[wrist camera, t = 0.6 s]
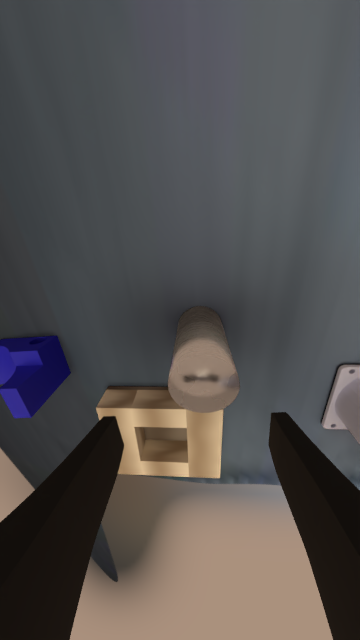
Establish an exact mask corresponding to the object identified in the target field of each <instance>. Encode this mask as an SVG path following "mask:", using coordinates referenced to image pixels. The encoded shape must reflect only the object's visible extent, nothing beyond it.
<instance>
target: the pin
mask: <svg viewBox="0 0 360 640" xmlns="http://www.w3.org/2000/svg"><path fill="white" fill-rule="evenodd" d="M239 388H240V382H239V377H238V374H237V371H236V368H235V364H234V361H233V358H232V355H231V351H230V348H229V345H228V342H227V338H226V335H225V332H224V329H223V325H222V322H221V319H220V317H219V315H218V314H217V313H216V312H215V311H214V310H212V309H210V308H208V307H204V306H196V307H192V308H190V309H188V310H186V311H185V312H184V313H183V314H182V316H181V317H180V319H179V323H178V328H177V334H176V340H175V345H174V351H173V357H172V362H171V368H170V373H169V379H168V389H169V392H170V395H171V397H172V398H173V399H174V401H175V402H176V403H177V404H179V405H180V406H181V407H183V408H185V409H187V410H190V411H193V412H198V413H210V412H215V411H219V410H221V409H223V408H225V407H227V406H228V405H230V404H231V403H232V402H233V401H234V399H235V398H236V396H237V395H238V392H239Z"/></svg>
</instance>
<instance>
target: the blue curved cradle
mask: <svg viewBox="0 0 360 640" xmlns="http://www.w3.org/2000/svg"><path fill="white" fill-rule="evenodd" d="M70 373H71V372H70V369H69V367H68V364H67V361H66V359H65V356H64V353H63V350H62V348H61V345H60V342H59V340H58V337H57V336H44V337H28V338H12V339H1V340H0V384H4V385H3V386H2V387H0V393H1V395H2V397H3V398H4V400H5V402H6V404H7V406H8V407H9V409H10V411H11V413H12V415H13V416H14V418H31V417H32V416H33V415H34V414H35V413H36V412H37V411H38V409H39V408H40V407H41V406H42V405H43V404H44V403H45V402H46V400H47V399H48V398H49V397H50V396H51V395H52V394H53V392H54V391H55V390H56V389H57V388H58V387H59V386H60V385H61V383H62V382H63V381H64V380H65V379H66V378H67V377H68V376H69V374H70Z"/></svg>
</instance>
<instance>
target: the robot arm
mask: <svg viewBox="0 0 360 640" xmlns="http://www.w3.org/2000/svg"><path fill="white" fill-rule="evenodd" d="M351 369H352V370H351ZM350 370H351V371H350ZM322 426H323V427H324V428H326V429H348V430H349V431H350V432H351V434H352V435H353V436H354V438H355V439H356V440H357V441H358V443H359V444H360V365H342V366H340V367H339V369H338V371H337V375H336V378H335V381H334V384H333V388H332V391H331V394H330V397H329V401H328V404H327V407H326V410H325V414H324V417H323V420H322ZM269 448H270V452H271V455H272V459H273V463H274V466H275V470H276V473H277V475H278V478H279V481H280V483H281V486H282V489H283V491H284V494H285V496H286V499H287V501H288V504H289V507H290V509H291V512H292V515H293V517H294V520H295V523H296V525H297V528H298V530H299V533H300V536H301V538H302V541H303V543H304V546H305V549H306V552H307V555H308V558H309V561H310V564H311V567H312V571H313V574H314V577H315V580H316V584H317V587H318V590H319V593H320V597H321V600H322V603H323V606H324V610H325V613H326V617H327V620H328V623H329V627H330V629H331V633H332V636H333V640H360V490H359V489H358V488H357V487H356V486H355V485H354V484H352V483H351V482H350V481H349V480H348V479H347V478H346V477H345V476H344V475H343V474H342V473H341V472H340V471H339V470H338V469H337V468H336V466H335V465H334V464H333V463H332V462H331V461H330V460H329V459H328V458H327V457H326V456H325V455H324V454H323V453H322V452H321V451H320V450H319V449H318V448H317V446H316V445H315V444H314V443H313V442H312V441H311V440H310V439H309V438H308V437H307V435H306V434H305V433H304V432H303V431H302V430H301V429H300V427H299V426H298V425H297V424H296V423H295V422H294V421H293V419H292V418H291V417H290V416H289V415H288V414H287V413H286V412H278V413H271V423H270V434H269ZM123 450H124V442H123V439H122V436H121V433H120V429H119V426H118V423H117V419H116V416H103V417H102V419H101V420H100V421H99V422H98V423H97V424H96V425H95V426H94V427H93V429H92V430H91V431H90V432H89V433H88V434H87V435H86V436H85V438H84V439H83V440H82V441H81V442H80V443H79V444H78V445H77V447H76V448H75V449H74V450H73V451H72V452H71V453H70V454H69V455H68V456H67V458H66V459H65V460H64V461H63V462H62V463H61V464H60V465H59V466H58V467H57V468H56V469H55V470H54V471H53V472H52V473H51V474H50V475H49V476H48V478H47V479H46V480H45V481H44V482H43V483H42V484H41V485H40V486H39V487H38V488H37V489H36V490H35V491H34V492H33V493H32V494H31V495H30V496H29V497H27V498H26V499H25V500H24V501H23V502H22V503H21V504H20V505H19V506H18V507H17V508H16V509H15V510H14V511H12V512H11V513H10V514H9V515H8V516H7V517H6V518H5V519H4V520H2V521H1V522H0V640H69V639H70V635H71V631H72V626H73V622H74V618H75V614H76V610H77V606H78V602H79V598H80V594H81V590H82V586H83V582H84V579H85V575H86V571H87V567H88V564H89V560H90V556H91V552H92V549H93V545H94V542H95V539H96V536H97V532H98V530H99V527H100V524H101V521H102V518H103V515H104V512H105V509H106V506H107V503H108V500H109V497H110V495H111V492H112V489H113V486H114V483H115V480H116V477H117V474H118V471H119V467H120V463H121V459H122V454H123Z"/></svg>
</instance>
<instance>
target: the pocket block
mask: <svg viewBox="0 0 360 640" xmlns="http://www.w3.org/2000/svg"><path fill="white" fill-rule="evenodd" d="M96 409H97V413H98V417H99V420H101V419H102V417H103V416H116V419H117V423H118V426H119V429H120V433H121V436H122V439H123V442H124V450H123V454H122V459H121V463H120V467H119V471H118V474H133V475H157V476H180V477H204V478H220V465H221V445H222V425H223V409H221V410H219V411H215V412H210V413H198V412H193V411H190V410H187V409H185V408H183V407H181V406H180V405H179V404H177V403H176V402H175V401H174V399H173V398H172V397H171V395H170V392H169V389H168V387H129V386H108V388H107V389H106V391H105V393H104V395H103V397H102V398H101V400H100V402H99V404H98V405H97V407H96Z"/></svg>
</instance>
